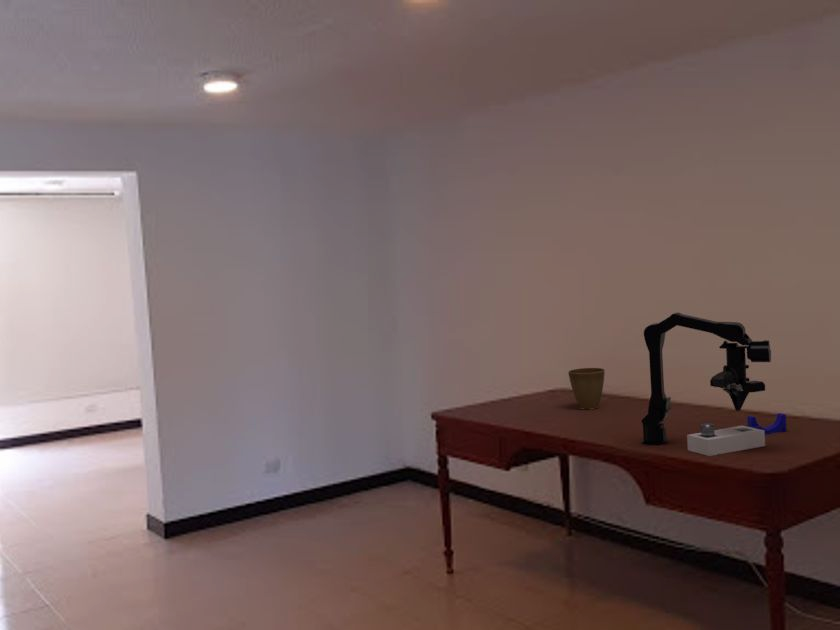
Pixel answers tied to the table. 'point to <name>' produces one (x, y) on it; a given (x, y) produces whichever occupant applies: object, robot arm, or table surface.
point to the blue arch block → (774, 428)
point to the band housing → (726, 441)
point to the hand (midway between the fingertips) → (738, 410)
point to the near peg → (707, 430)
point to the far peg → (743, 429)
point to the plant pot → (587, 386)
